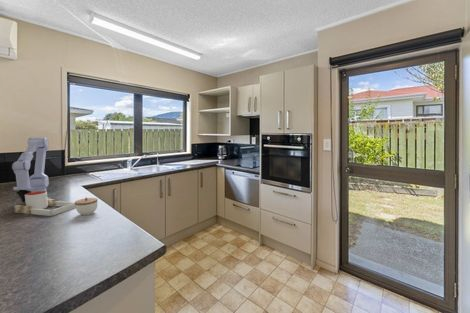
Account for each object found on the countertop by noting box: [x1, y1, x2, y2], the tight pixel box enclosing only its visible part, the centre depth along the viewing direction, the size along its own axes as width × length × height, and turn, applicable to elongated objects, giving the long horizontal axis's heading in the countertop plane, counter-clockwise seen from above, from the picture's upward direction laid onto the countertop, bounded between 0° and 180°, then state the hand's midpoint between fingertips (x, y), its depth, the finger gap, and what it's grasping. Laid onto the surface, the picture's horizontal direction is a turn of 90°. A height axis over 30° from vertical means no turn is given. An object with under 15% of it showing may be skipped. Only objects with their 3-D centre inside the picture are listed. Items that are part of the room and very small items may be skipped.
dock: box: [30, 200, 76, 217], centre depth 131 cm, size 15×15×3 cm
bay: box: [13, 198, 57, 215], centre depth 134 cm, size 12×15×4 cm
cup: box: [24, 190, 49, 210], centre depth 134 cm, size 10×10×10 cm
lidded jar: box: [74, 196, 99, 216], centre depth 125 cm, size 11×11×9 cm
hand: (25, 201), depth 136 cm, fingers closed
